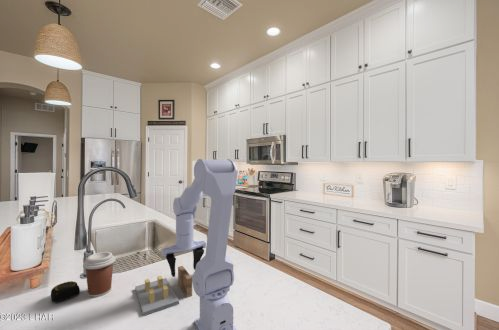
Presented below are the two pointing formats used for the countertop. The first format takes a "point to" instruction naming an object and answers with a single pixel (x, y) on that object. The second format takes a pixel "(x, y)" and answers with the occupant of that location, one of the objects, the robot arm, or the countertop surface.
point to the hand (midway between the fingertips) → (184, 272)
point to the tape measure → (64, 291)
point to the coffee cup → (99, 273)
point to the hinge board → (155, 295)
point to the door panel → (185, 281)
